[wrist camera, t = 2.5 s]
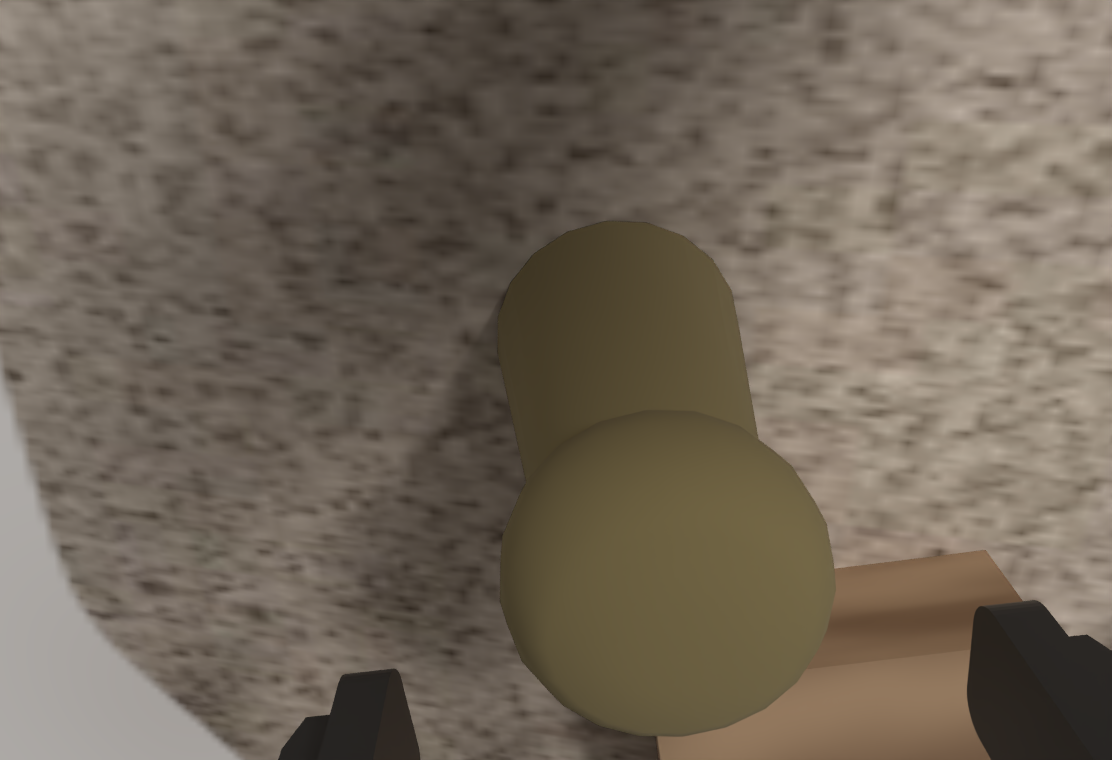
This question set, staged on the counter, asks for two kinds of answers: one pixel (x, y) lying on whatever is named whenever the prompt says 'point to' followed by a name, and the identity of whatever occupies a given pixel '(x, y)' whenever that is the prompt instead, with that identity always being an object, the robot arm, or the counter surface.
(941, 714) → the walnut block
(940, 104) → the counter surface
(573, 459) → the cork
